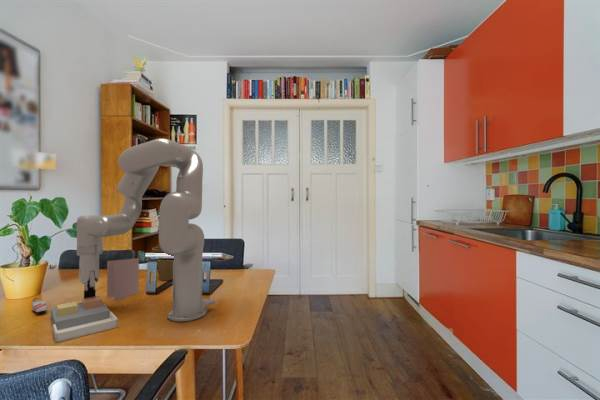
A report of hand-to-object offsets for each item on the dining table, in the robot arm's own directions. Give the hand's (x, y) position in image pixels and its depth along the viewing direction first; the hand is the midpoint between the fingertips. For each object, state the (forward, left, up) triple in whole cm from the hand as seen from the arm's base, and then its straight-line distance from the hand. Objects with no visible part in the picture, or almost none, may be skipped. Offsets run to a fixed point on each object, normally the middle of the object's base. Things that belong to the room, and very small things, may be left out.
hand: (89, 300), depth 106 cm
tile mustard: (+7, +7, -1) cm, 10 cm away
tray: (+4, +18, -4) cm, 19 cm away
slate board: (+4, +6, -4) cm, 8 cm away
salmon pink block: (0, +5, -1) cm, 5 cm away
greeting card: (-13, -9, -4) cm, 16 cm away
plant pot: (-37, -26, -4) cm, 45 cm away
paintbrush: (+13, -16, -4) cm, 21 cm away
